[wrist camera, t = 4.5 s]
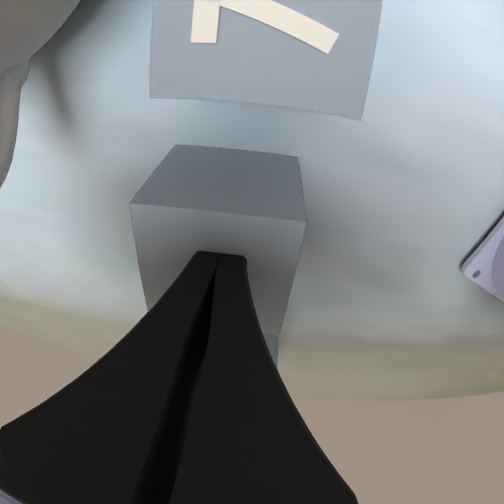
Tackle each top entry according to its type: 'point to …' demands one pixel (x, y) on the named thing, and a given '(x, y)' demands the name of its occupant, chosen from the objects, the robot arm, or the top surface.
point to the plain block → (222, 221)
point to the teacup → (22, 58)
